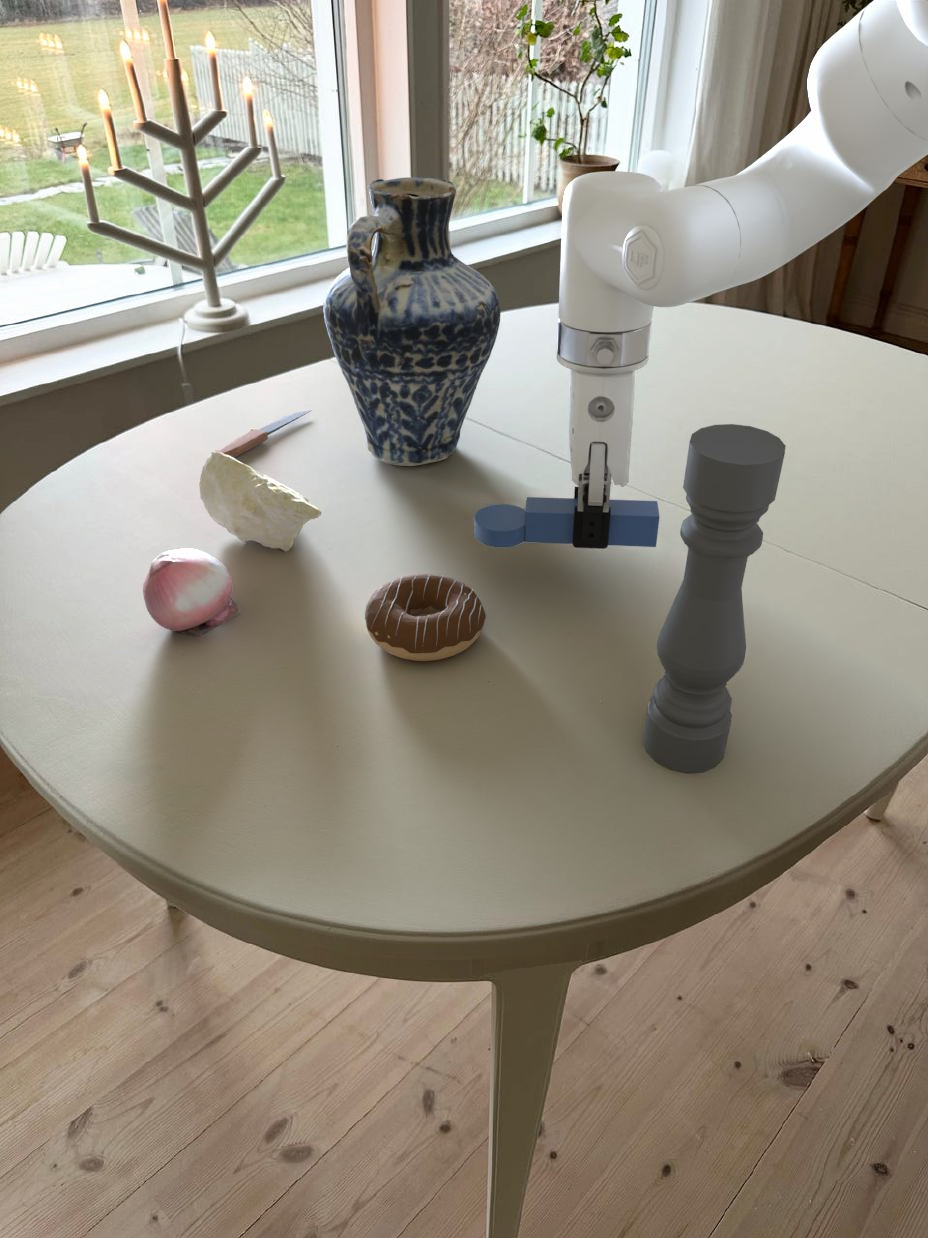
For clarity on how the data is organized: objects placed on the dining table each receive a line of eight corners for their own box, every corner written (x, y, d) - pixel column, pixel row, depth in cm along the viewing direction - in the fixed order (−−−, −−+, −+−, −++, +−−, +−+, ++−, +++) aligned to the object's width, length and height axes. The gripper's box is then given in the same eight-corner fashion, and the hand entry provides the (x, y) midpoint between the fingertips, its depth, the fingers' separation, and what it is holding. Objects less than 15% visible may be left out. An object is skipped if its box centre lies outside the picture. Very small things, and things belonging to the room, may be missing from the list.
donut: (341, 636, 82) (337, 599, 80) (424, 586, 88) (423, 550, 86) (426, 688, 76) (425, 650, 74) (509, 631, 82) (510, 594, 80)
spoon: (653, 525, 87) (656, 495, 86) (656, 553, 83) (660, 522, 81) (476, 519, 89) (476, 489, 87) (471, 546, 85) (471, 516, 83)
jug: (377, 409, 122) (360, 159, 104) (518, 428, 117) (525, 169, 99) (305, 478, 106) (271, 198, 89) (463, 504, 101) (461, 212, 83)
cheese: (212, 521, 103) (148, 496, 88) (243, 463, 102) (184, 428, 88) (328, 585, 100) (283, 571, 86) (360, 526, 100) (321, 501, 85)
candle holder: (664, 780, 67) (715, 472, 53) (629, 725, 72) (668, 429, 58) (740, 763, 69) (811, 458, 54) (701, 710, 74) (756, 417, 59)
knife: (294, 401, 121) (312, 406, 120) (294, 409, 122) (312, 413, 121) (205, 450, 110) (224, 455, 109) (207, 458, 111) (226, 463, 109)
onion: (176, 592, 88) (160, 527, 84) (253, 600, 87) (241, 534, 82) (138, 643, 81) (119, 575, 77) (220, 651, 80) (206, 583, 76)
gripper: (656, 378, 68) (634, 586, 79) (644, 310, 81) (626, 496, 92) (554, 376, 69) (546, 582, 80) (559, 309, 82) (551, 493, 93)
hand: (589, 534), depth 86 cm, fingers closed on spoon, 3 cm apart
